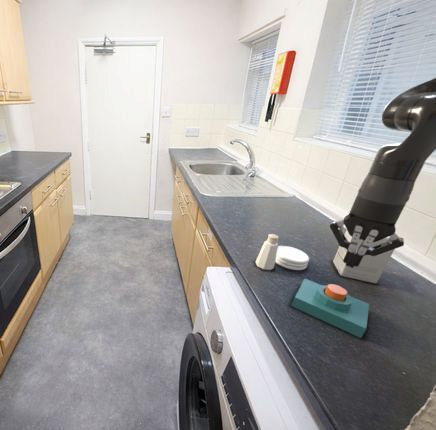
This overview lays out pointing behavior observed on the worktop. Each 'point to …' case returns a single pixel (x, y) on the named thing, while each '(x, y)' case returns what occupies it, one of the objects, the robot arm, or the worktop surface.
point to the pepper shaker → (268, 253)
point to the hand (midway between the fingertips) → (349, 265)
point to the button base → (332, 308)
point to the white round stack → (291, 258)
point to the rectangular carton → (363, 263)
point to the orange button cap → (335, 292)
